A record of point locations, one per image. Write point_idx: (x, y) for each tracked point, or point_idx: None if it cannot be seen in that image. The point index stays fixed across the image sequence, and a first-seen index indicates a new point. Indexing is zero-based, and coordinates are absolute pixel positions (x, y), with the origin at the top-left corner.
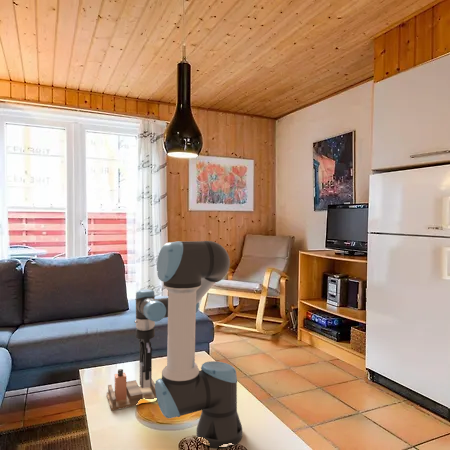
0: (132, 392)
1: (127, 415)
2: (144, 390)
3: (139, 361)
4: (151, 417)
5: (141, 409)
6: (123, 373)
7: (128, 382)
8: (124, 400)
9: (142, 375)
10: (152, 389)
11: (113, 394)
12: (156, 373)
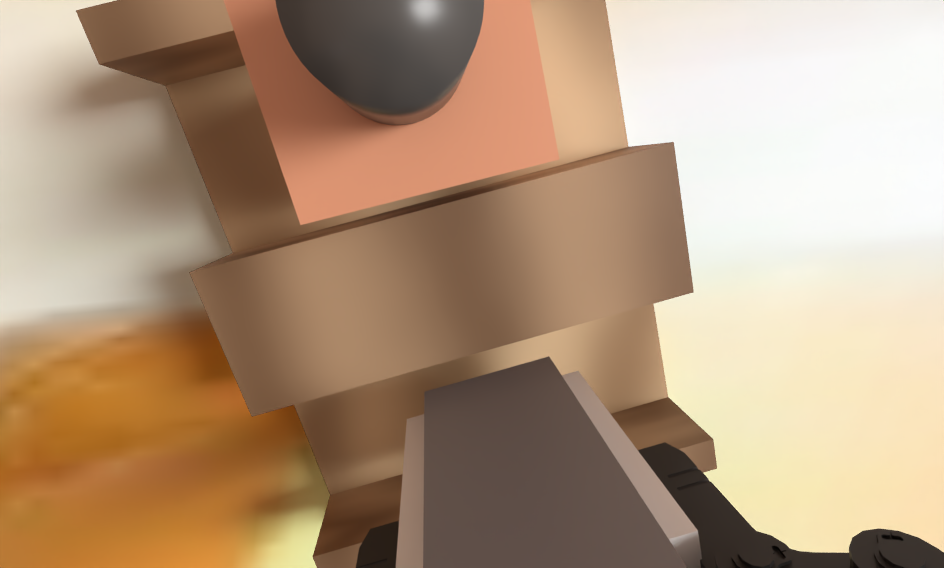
0: (308, 286)
1: (43, 232)
2: None
3: (920, 559)
4: (7, 461)
5: (175, 360)
6: (497, 128)
7: (645, 201)
8: None
9: (430, 521)
10: None
11: None
12: (938, 435)
